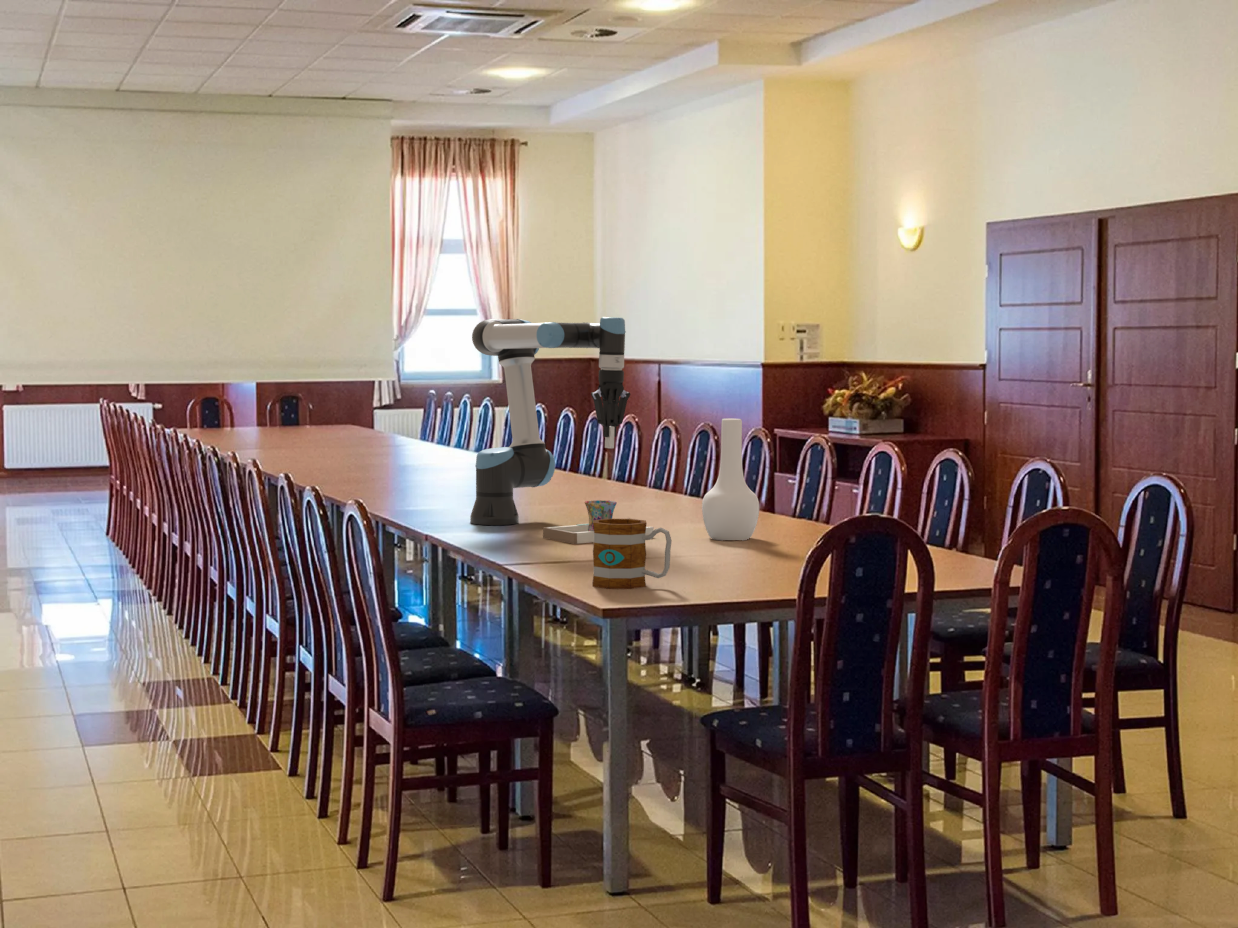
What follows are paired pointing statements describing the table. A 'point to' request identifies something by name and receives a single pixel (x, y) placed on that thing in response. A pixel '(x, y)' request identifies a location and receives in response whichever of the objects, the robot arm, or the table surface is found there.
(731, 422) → the vase
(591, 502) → the mug
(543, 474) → the robot arm
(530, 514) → the table surface
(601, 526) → the mug
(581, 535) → the teal-striped rail frame
